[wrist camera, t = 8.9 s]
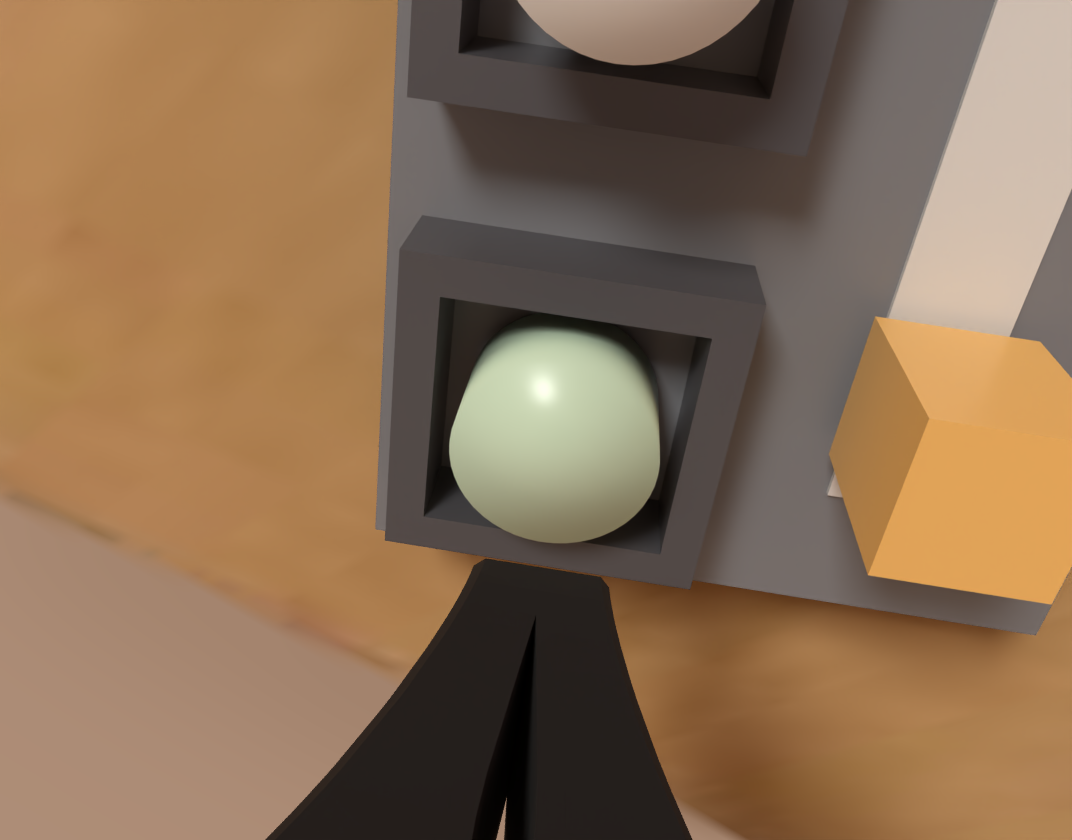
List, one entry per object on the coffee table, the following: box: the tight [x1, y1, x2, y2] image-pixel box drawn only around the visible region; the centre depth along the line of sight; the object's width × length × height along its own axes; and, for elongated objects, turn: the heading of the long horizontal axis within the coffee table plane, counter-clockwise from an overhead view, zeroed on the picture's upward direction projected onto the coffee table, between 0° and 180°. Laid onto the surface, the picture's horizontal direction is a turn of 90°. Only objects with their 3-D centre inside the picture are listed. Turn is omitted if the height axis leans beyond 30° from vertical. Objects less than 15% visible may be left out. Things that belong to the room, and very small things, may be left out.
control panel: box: [376, 0, 1072, 635], centre depth 14 cm, size 12×14×4 cm
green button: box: [449, 312, 660, 543], centre depth 14 cm, size 3×3×2 cm
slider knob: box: [829, 316, 1072, 605], centre depth 13 cm, size 2×2×3 cm
